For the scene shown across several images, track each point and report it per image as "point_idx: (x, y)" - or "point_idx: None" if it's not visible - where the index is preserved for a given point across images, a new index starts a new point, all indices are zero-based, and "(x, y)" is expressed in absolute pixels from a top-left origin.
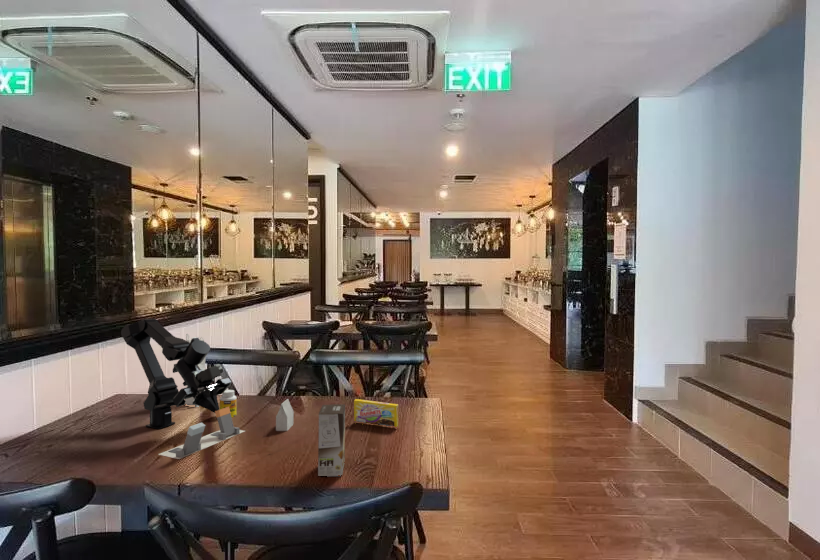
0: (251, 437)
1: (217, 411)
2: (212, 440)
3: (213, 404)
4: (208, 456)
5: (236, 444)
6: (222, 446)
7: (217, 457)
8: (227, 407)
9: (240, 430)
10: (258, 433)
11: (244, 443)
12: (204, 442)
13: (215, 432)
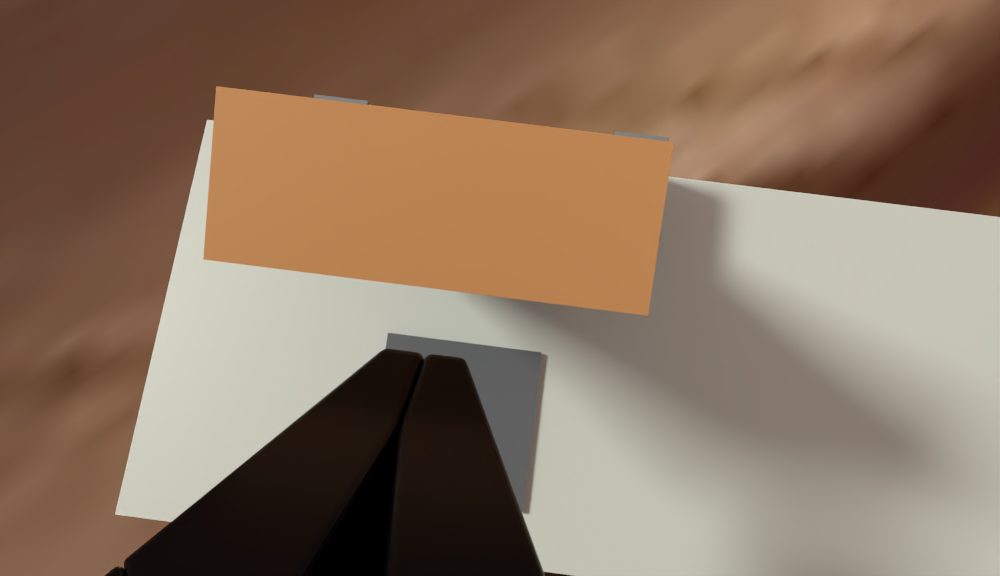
0: (275, 44)
1: (659, 205)
2: (710, 316)
3: (472, 526)
4: (996, 135)
5: (553, 70)
6: None
7: (973, 25)
8: (288, 97)
9: (204, 203)
10: (110, 46)
11: (493, 3)
12: (824, 369)
13: None
